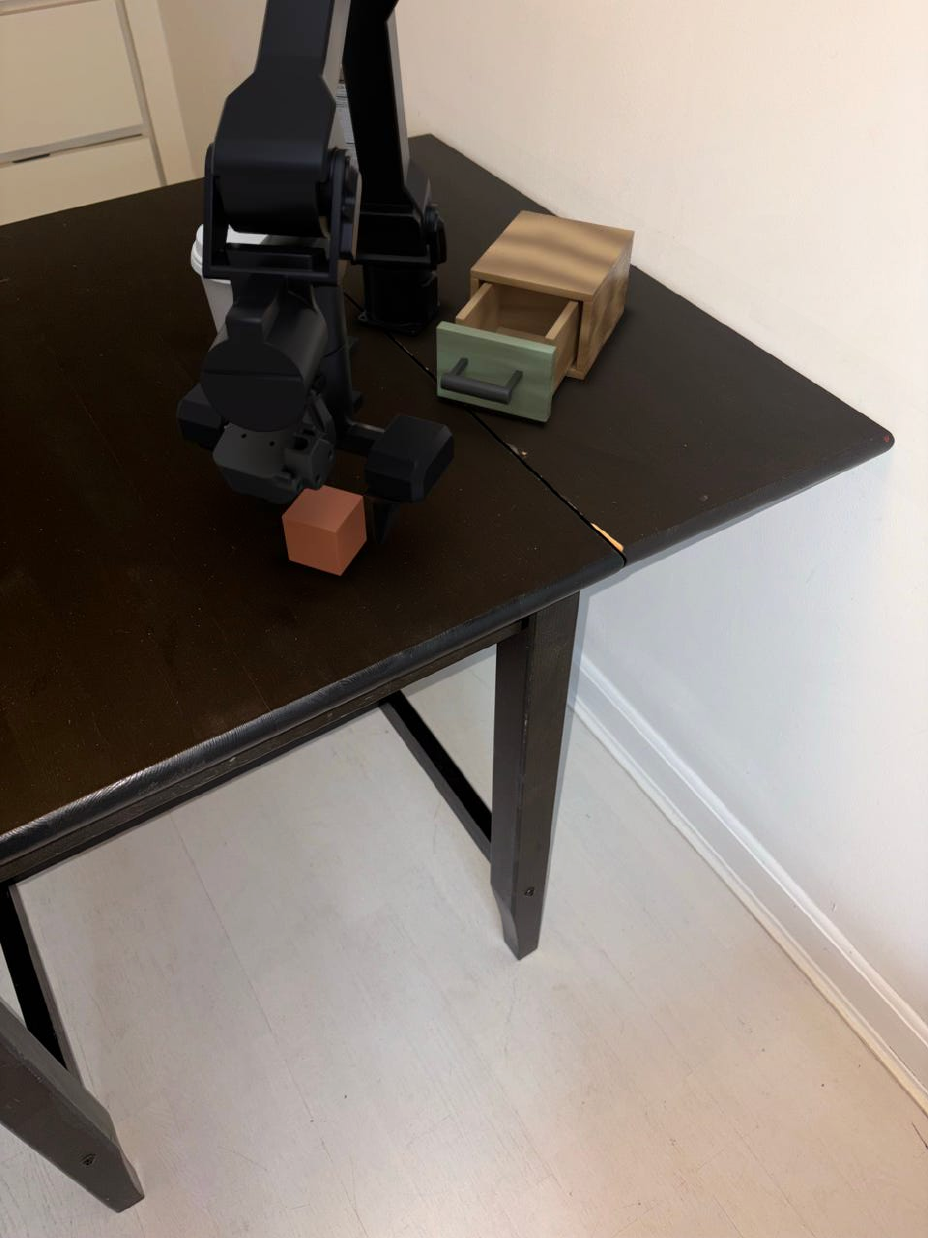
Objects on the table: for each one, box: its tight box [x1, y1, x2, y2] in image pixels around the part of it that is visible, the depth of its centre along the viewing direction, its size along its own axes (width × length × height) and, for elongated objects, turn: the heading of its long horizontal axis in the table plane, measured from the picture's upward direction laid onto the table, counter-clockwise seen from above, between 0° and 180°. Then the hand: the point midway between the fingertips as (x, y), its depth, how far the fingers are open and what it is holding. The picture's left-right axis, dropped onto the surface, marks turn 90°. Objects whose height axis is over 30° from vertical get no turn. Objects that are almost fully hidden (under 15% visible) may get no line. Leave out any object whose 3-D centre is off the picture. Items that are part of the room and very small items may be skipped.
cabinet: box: [469, 209, 635, 381], centre depth 92 cm, size 14×12×9 cm
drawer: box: [435, 281, 584, 423], centre depth 85 cm, size 17×10×7 cm, turn 157°
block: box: [281, 484, 368, 577], centre depth 71 cm, size 4×4×4 cm
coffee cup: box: [190, 224, 267, 334], centre depth 82 cm, size 10×10×15 cm
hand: (325, 525), depth 71 cm, fingers open, 9 cm apart
